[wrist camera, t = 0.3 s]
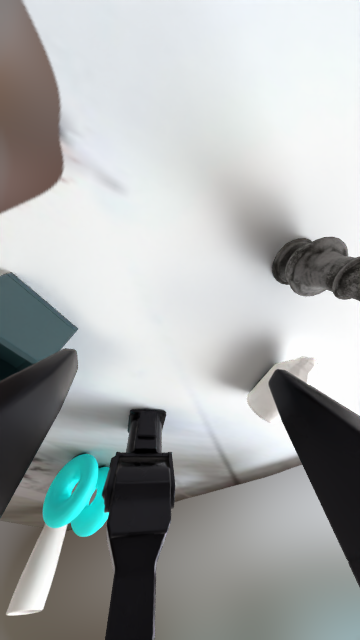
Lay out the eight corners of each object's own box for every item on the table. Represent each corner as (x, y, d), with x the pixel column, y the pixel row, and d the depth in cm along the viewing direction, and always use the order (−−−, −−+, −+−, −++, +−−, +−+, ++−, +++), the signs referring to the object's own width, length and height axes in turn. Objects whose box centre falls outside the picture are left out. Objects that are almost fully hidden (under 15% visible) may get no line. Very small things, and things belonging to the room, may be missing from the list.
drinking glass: (66, 513, 50) (32, 614, 37) (44, 509, 48) (-2, 616, 34) (80, 505, 49) (49, 608, 35) (57, 501, 46) (15, 611, 33)
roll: (312, 349, 27) (345, 376, 22) (266, 397, 32) (285, 427, 27) (284, 338, 26) (313, 365, 21) (241, 390, 31) (255, 421, 26)
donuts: (98, 445, 35) (77, 517, 26) (125, 464, 40) (114, 531, 31) (58, 459, 36) (25, 533, 27) (88, 476, 41) (68, 543, 32)
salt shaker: (260, 269, 20) (364, 313, 10) (300, 223, 18) (485, 216, 8) (289, 295, 22) (402, 354, 12) (328, 256, 20) (506, 285, 10)
